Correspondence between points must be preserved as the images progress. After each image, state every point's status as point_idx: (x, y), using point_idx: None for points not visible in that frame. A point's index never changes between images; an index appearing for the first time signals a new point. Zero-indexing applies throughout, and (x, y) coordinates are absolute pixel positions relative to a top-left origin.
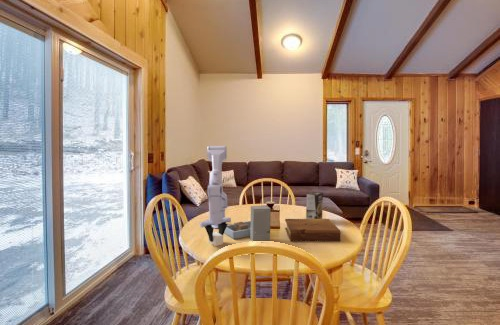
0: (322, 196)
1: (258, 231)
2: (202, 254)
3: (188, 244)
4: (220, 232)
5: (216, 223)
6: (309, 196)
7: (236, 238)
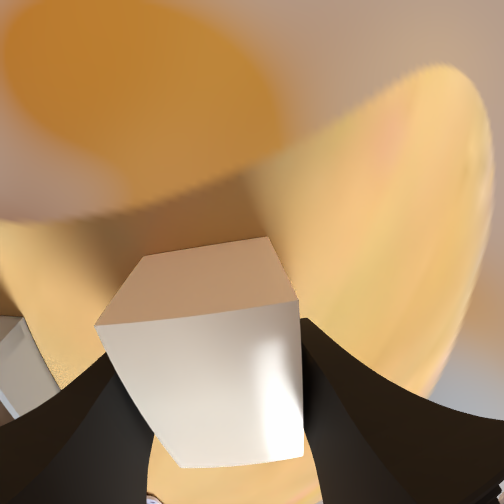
0: None
1: None
2: (461, 104)
3: (434, 369)
4: (126, 427)
5: None
6: None
7: (4, 318)
